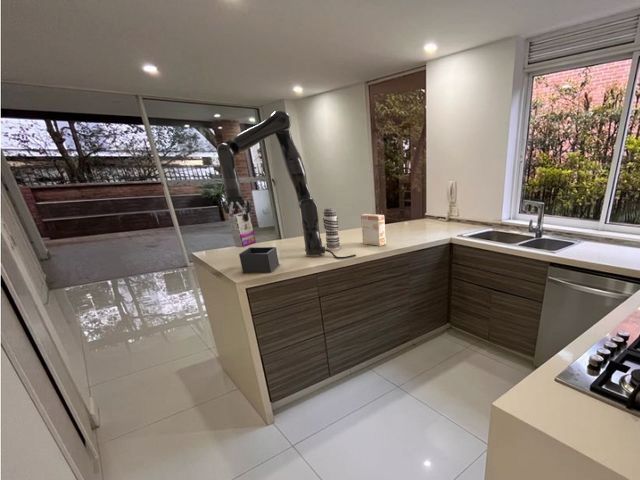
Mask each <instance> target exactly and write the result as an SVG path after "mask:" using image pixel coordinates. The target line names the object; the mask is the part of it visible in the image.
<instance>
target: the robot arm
mask: <svg viewBox="0 0 640 480" xmlns="http://www.w3.org/2000/svg"><path fill="white" fill-rule="evenodd" d="M291 125H292V120H291V117H290V115H289V114H288V113H287V112H286V111H284V110H275V111H274V112H273V113H272V114H271V115H270V116H269V117H268V118H266V119H265V120H264V121H262V122H260V123H259V124H257V125H255V126H253V127H250V128H248V129H247V130H244V131H242V132H240V133H239V134H237V135H235V136H234V137H233V138H231V139H229V140H227V141H225V142H223V143H220V144H218V145H217V147H216V154H217V157H218V160H219V164H220V169H221V170H220V171H221V175H222V180H223V188H224V190H225V191H224V192H225V196H226V198H227V200H223V201H221V205H222V207H223V210H224V213H225V214H228V215H229V216H230V215H234V214H235V210H236V209H240V211H242V213H244V218H245V221H246V222H247V221H248V220H249V217H248V213H249V214H250V213H252V202H251V200H245V198H244V194H243V189H242V185H241V181H240V178H239V174H238V169H237V166H236V159H235V157H236V156H237V155H239V154H240V153H242V152H245V151H247V150H249V149H251V148H252V147H254V146H256V145H258V144H259V143H261V142H262V141H263V140H265V139H267V138H269V137H270V136H272V135H275V137H276V139H277V141H278V145H279V149H280V151H281V155H282V158H283V162H284V165H285V169H286V170H287V174H288V176H289V179H290V181H291V183H292V185H293V189H294V190H295V194H296V199H297V202H298V207H299V209H300V215H301V216H300V217H301V226H302V235H303V241H304V248H305V249H304V251H305V257H310V258H314V257H315V258H316V257H321V256H323V254H326V252H327V253H330V254H331V255H332V256H333V257H334V258H335V259H341V260H342V259H349V258H353V257H356V254H351V255H346V256H337V255H336V254H335V253H334V252H333V251H332V250H328V249H327V248H326V246H323V242H322V241H323V240H322V238H321V232H320V224H319V222H320V220H319V219H320V218H319V210H318V204H317V201H316V200H315V199H314V198H313V196H312V193H311V191H310V189H309V185H308V179H307V173H306V168H305V165H304V161H303V160H302V159H303V158H302V156H301V154H300V152H299V151H298V148H297V146H296V144H295V143H294V140H293V136H292V133H291ZM228 205H229V206H228ZM245 205H246V206H245Z"/></svg>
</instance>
